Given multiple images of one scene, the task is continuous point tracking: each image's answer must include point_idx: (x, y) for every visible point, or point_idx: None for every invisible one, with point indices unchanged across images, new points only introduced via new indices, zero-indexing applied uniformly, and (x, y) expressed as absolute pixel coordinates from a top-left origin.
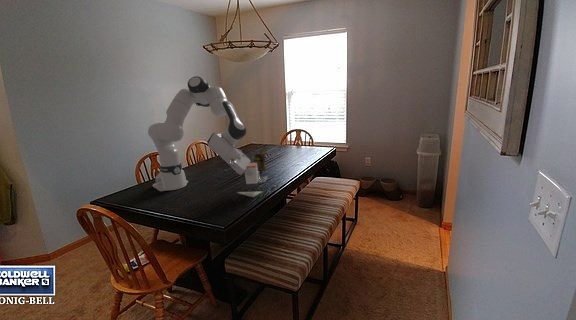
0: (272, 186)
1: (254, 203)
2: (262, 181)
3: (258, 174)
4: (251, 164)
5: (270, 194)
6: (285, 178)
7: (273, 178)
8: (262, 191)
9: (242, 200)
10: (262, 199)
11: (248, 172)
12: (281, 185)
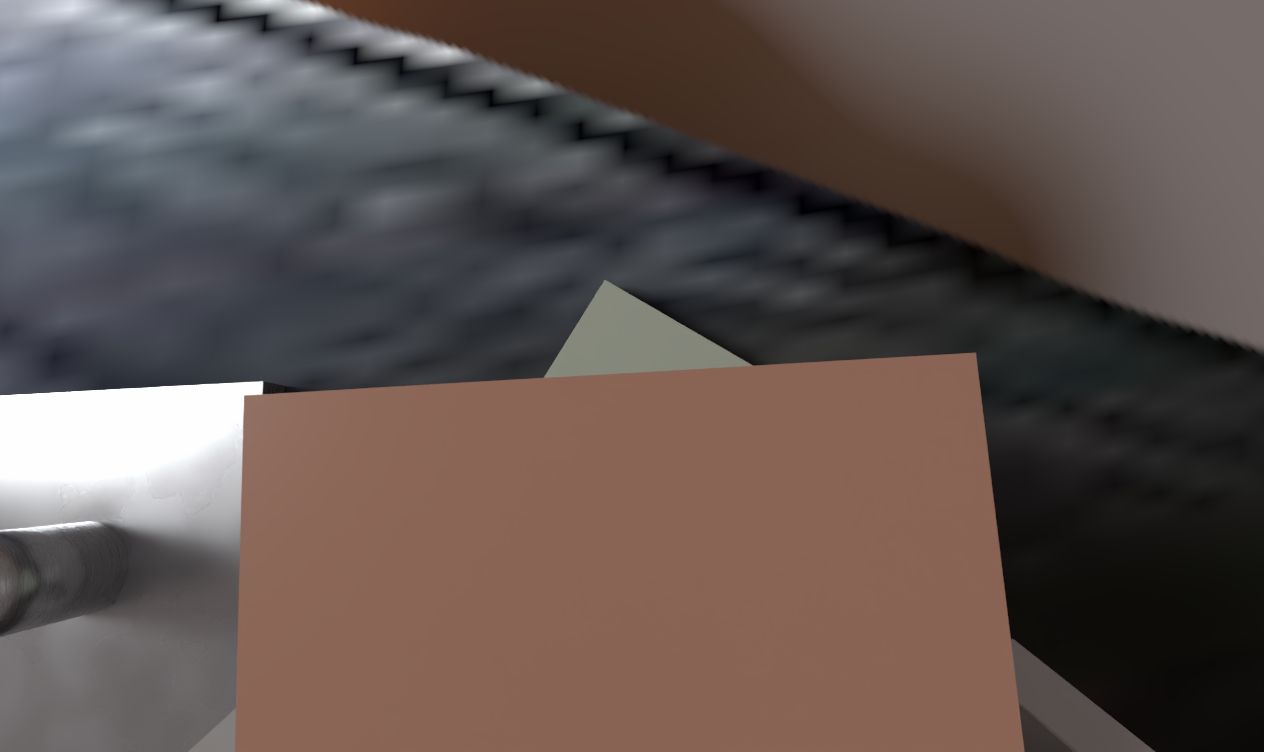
0: (433, 242)
1: (1201, 398)
2: (229, 444)
3: (8, 550)
4: (642, 708)
5: (806, 213)
6: (58, 88)
7: (16, 293)
8: (729, 352)
9: (1084, 640)
10: (1025, 302)
11: (1056, 695)
12: (400, 103)
